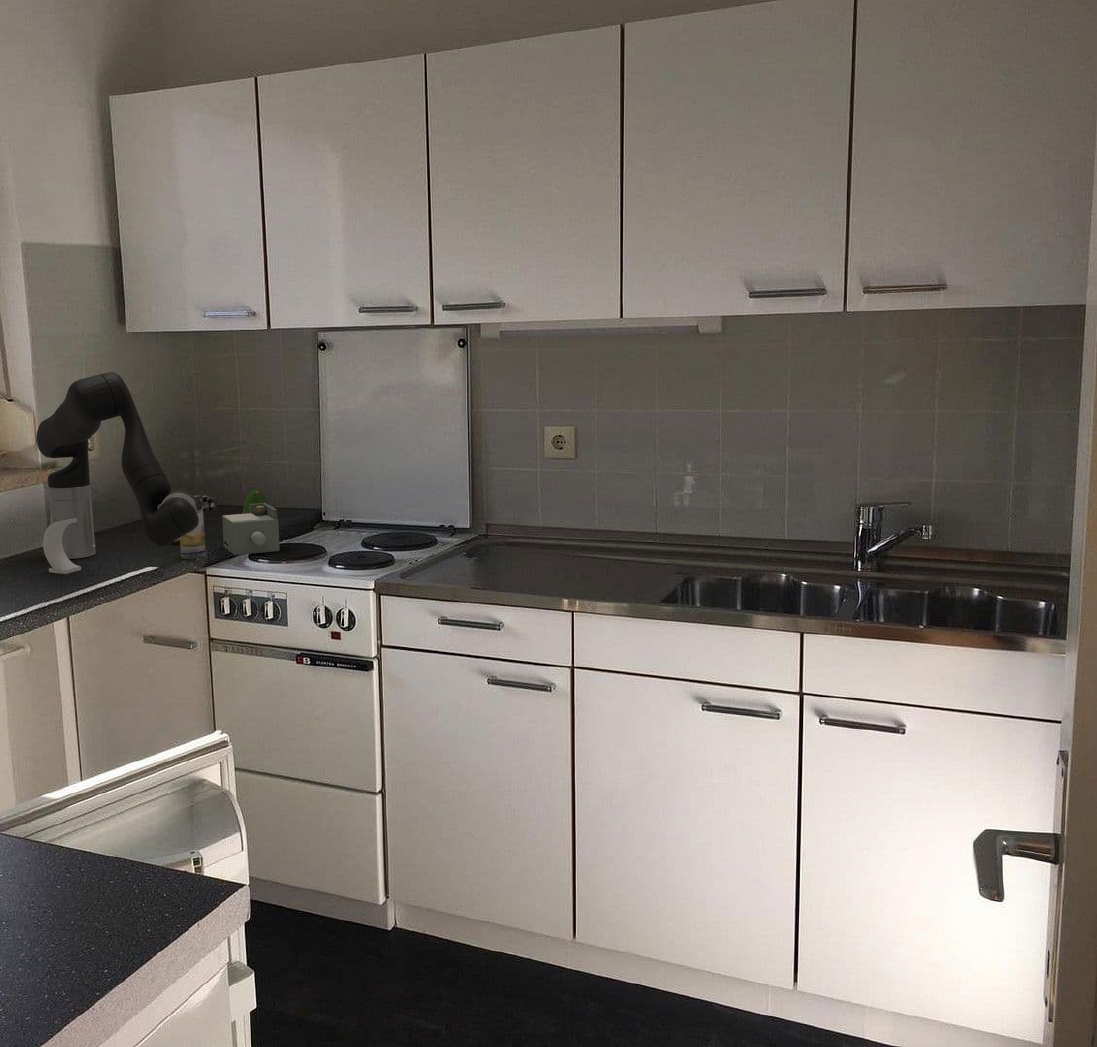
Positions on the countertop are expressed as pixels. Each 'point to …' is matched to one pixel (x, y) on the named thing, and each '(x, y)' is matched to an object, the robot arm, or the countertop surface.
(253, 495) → the avocado
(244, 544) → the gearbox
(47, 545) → the headphone stand
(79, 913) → the countertop surface
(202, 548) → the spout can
